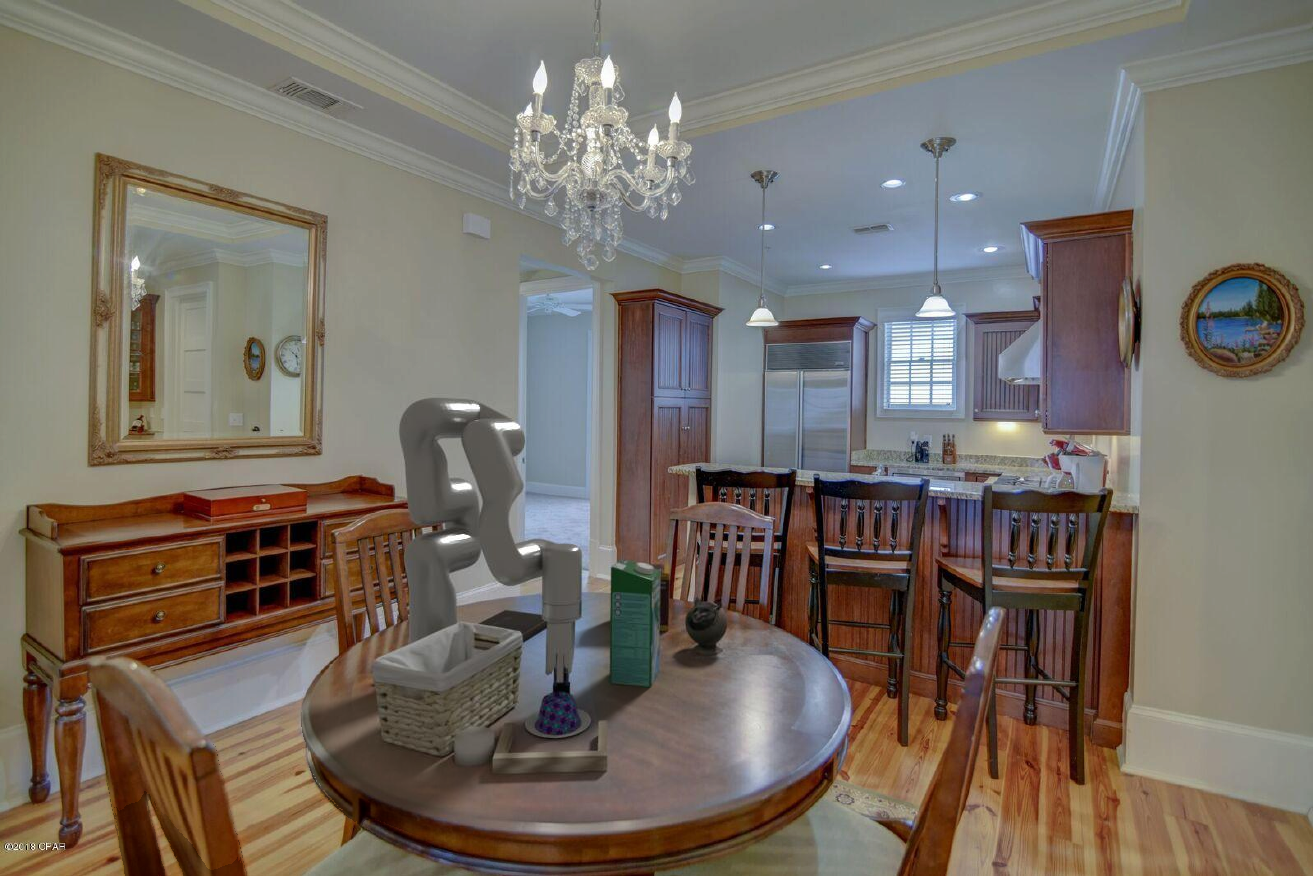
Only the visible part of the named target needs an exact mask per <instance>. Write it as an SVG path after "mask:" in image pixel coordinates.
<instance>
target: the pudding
mask: <svg viewBox="0 0 1313 876" xmlns="http://www.w3.org/2000/svg"><path fill="white" fill-rule="evenodd" d="M591 721H592V718H591V717H590V715H589V714H588V713H587V712H586V711H584V710H582V709H579V708H578V707H577V703H576V699H575V697H574V696H573V694H571V692H570V693H565V692H553V691H552V692H550V693H547V694H546V695H544V696H543V697H542V699H541V703H540V708H539V710H537V711H534V712H533V713H532V714H530V715H529V716H528V717H527V718H526V719H525V722H524V727H525V729H526V730H527V731H528V732H529V733H531V734H533V735H535V736H538V737H540V738H541V737H542V738H552V739H553V738H554V739H557V738H558V739H559V738H567V737H571V736H574V735H577V734H579V733H582V732H583V731H585V730H586V729H588V727H589V726H590V724H591ZM535 724H536V725H535ZM577 727H578V729H577ZM540 731H541V732H540ZM550 734H554V735H550Z"/></svg>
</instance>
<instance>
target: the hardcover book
mask: <svg viewBox="0 0 1313 876" xmlns="http://www.w3.org/2000/svg"><path fill="white" fill-rule="evenodd" d="M478 624H481V625H487V626H494V627H499V628H504V629H510V630H514V631H520V632H521V634H522V638H523V644H524V643H525V642H527V641H529V640H530V639H532V638H533V637H535V636H537V635H538V634H540V633H541V632H543V631H545V630H547V621H545V620H543V619H542V614H541V613H540V614H538V613H534V612H533V613H532V612H525V611H524V612H523V611H516V610H510V609H509V610H508V609H504V610H502V611H500V612H499V613H497V614H495V615H493V616H491V617H488V618H487V619H485V620H483V621H480V622H479V623H478ZM474 639H475V646H476V647H480V648H487V649H490V648H492V647H494V646H496V645H498V644H500V643H499V642H498V641H492V640H491V641H490V640H487V639H480V638H474ZM475 646H474V647H475Z"/></svg>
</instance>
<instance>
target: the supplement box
mask: <svg viewBox="0 0 1313 876" xmlns="http://www.w3.org/2000/svg"><path fill="white" fill-rule="evenodd" d="M648 564H649V563H648ZM649 565H651V566H653V567H654V568H655V569H658V570H661V581H660V632H668V631H669V623H670V621H669V619H670V618H669V617H670V588H671V587H670V583H671V581H670V579H671V578H670V577H671V575H670V574H671V573H670V572H671V571H670V564H649Z"/></svg>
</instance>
